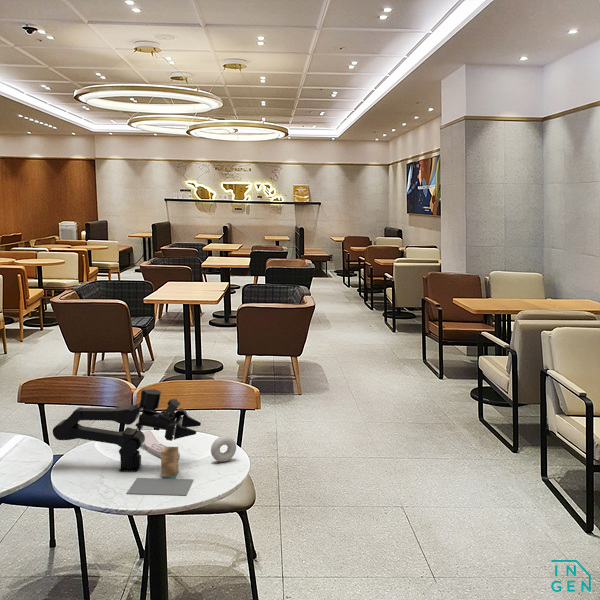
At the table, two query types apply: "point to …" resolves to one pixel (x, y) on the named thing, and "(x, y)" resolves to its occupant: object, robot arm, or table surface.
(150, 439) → the mobile phone
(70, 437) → the robot arm
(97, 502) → the table surface
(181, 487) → the charcoal mat
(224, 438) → the donut
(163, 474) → the oak block
